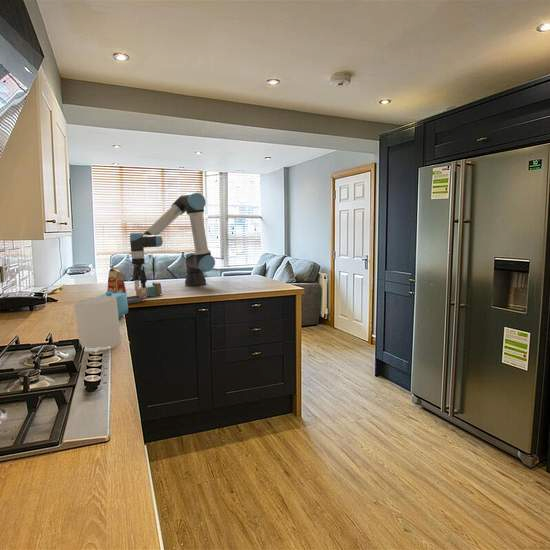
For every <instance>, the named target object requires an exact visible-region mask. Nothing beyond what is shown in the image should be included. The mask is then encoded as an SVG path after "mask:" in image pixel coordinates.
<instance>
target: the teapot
mask: <svg viewBox="0 0 550 550" xmlns="http://www.w3.org/2000/svg"><path fill="white" fill-rule="evenodd" d="M121 292H122V290H120V291H118V293H112V292H111V291H110V292H107V291H106V292H105V293H103V294H100V295H98V296H96V297H101V296H112V297H116V299H117V308H118V318H119V319H125V316H124V315H126V314H128V313H129V304H128V303H127V297H128V296H127V295H128V294H127V292H126V293H121Z"/></svg>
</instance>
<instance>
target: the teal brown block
mask: <svg viewBox="0 0 550 550" xmlns="http://www.w3.org/2000/svg"><path fill="white" fill-rule="evenodd" d="M146 291H147V296H150V297H152V296H151V295H159V296H161V295H160V294H162V295H163V292H162V291H163V290H162V283H161V282H158V281H153V282H152V284H151V285H146Z"/></svg>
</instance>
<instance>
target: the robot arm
mask: <svg viewBox="0 0 550 550" xmlns="http://www.w3.org/2000/svg"><path fill="white" fill-rule="evenodd" d="M206 203H207V202H206V198H205V197H204V195H203V194H202V193H201V192H198V191H195V192H194V191H192V192H187V193H183V194H181V195H180V196H179V197H178V198H177V199H175V201H174V202H173V203H171V205H170V206H171V207H170V208H168V209H167V210H166V211H165V212H164V213H163V214H162V215H161V216H160V217H159V218H158V219H157V220H156V221H155V222H154V223H153V224H152V225H150V227H148V229H146V231H144V233H143V232H131V233H130V234H129V243H130V244H129V246H130V254H129V255H131V265H132V267H133V272H132V279H133V281H134V291H135V292H136V288H138V287H141V293H146V286H147V282H148V281H147V276H146V272H145V266H144V264H145V263H146V262H145V248H146V249H147V248H158V247H162V245H163V241H164V240H163V237H162V236H161V234H162V233H163V232H164V230H165V229H167V228H168V227H169V226H170V225H171V224H172V223H174V221H175V220H176V219H178V217H179V216H182V215H184V214H185V213H186V215H187V216H188V217H189V221H190V226H191V233H192V239H193V245H194V250H195V251H194V252H189V253H186V254H185V269H186V275H185V280H184V284H185V286H187V287H195V286H196V287H198V286H203V285H206V284H207V280H206V277H205V275H204V273H209V272H211V271H212V270H213V269H214V268H215V265H216V260H215V258H214V256H213V255H212V253H211V250H209V248H208V242H207V237H206V228H205V224H204V217H203V214H204V213H205V206H206Z"/></svg>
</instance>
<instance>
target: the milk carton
mask: <svg viewBox="0 0 550 550" xmlns="http://www.w3.org/2000/svg"><path fill="white" fill-rule="evenodd" d="M107 278H108V279H107V290H106V292H110V291H111V292H112V293H118V291H120V290H122V292H121V293H127V289H126V284H125V280H124V276H123V273H122V271H121V270H120V269H119V267H113V266H111V267H110V270H109V271H108V277H107Z"/></svg>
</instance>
